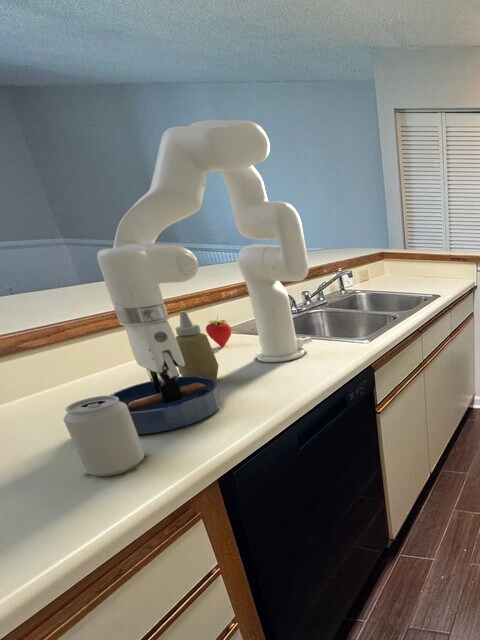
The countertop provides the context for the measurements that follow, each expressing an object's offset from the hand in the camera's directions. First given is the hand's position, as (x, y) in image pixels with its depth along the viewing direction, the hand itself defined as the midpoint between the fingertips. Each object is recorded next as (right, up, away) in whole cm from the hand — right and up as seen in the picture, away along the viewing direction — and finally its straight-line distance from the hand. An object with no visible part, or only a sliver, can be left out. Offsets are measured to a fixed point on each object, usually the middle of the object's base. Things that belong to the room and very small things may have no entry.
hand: (170, 399), depth 89 cm
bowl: (0, -3, 0) cm, 3 cm away
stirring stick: (0, 0, 0) cm, 0 cm away
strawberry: (-19, +15, +44) cm, 50 cm away
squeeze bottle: (-5, +3, +17) cm, 18 cm away
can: (+6, -11, -18) cm, 22 cm away
